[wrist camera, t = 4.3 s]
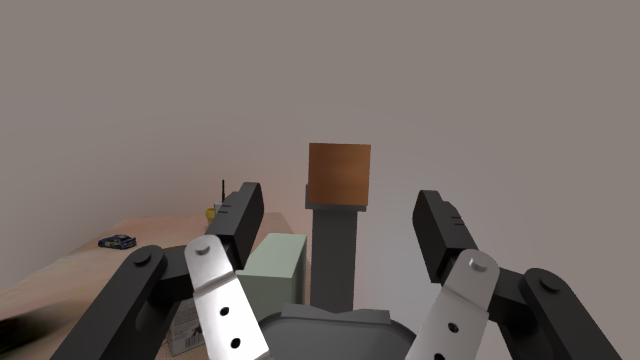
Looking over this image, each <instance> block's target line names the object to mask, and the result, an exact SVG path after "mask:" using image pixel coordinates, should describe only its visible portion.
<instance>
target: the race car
mask: <svg viewBox="0 0 640 360" xmlns="http://www.w3.org/2000/svg"><path fill="white" fill-rule="evenodd" d="M134 245H136V238H135V237H134V238H130V237H129V236H126V235H115V236H112V237H109V238H105V239H102V240H100V241H99V242H98V246H100V247H108V248H117V249H120V250H121V249H127V248H130V247H132V246H134Z"/></svg>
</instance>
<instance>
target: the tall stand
mask: <svg viewBox="0 0 640 360" xmlns="http://www.w3.org/2000/svg"><path fill="white" fill-rule="evenodd" d="M305 201H306V202H305V209H313V229H312V262H311V293H310V306H313V307H316V308H319V309H322V310H325V311H328V312H331V313H334V314H339V313H344V312H349V311H353V296H354V273H355V254H356V233H357V232H356V231H357V212H358V211H362V212H366V205H344V204H321V203H308V183H307V184H306V199H305Z"/></svg>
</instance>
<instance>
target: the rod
mask: <svg viewBox="0 0 640 360" xmlns="http://www.w3.org/2000/svg"><path fill="white" fill-rule="evenodd" d="M370 150H371V145H360V144H326V143H310V144H309V175H308V176H309V177H308V203H321V204H344V205H368V188H369V168H370Z"/></svg>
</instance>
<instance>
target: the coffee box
mask: <svg viewBox="0 0 640 360" xmlns="http://www.w3.org/2000/svg"><path fill="white" fill-rule="evenodd" d="M186 247H187V245H182V246H175V247H170V248H165V249H162V250H163V252H164V253H165V252H170V251H175V250H180V249H184V248H186ZM166 338H167V341H168V344H169V347H170V350H171V353H172V356H175V355H178V354H180V353H182V352H185V351H187V350H190V349H192V348H194V347H197V346H199V345H201V344H204V343H205V339H204V335H203V331H202V328H201V324H200V320H199V316H198V312H197V308H196V305H195V301H194V298H190V299H186V300H182V301H181V304H180V306H179V308H178V310H177V312H176V314H175V316H174V319H173V321H172V323H171V325H170V327H169V329H168V331H167V334H166Z"/></svg>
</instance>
